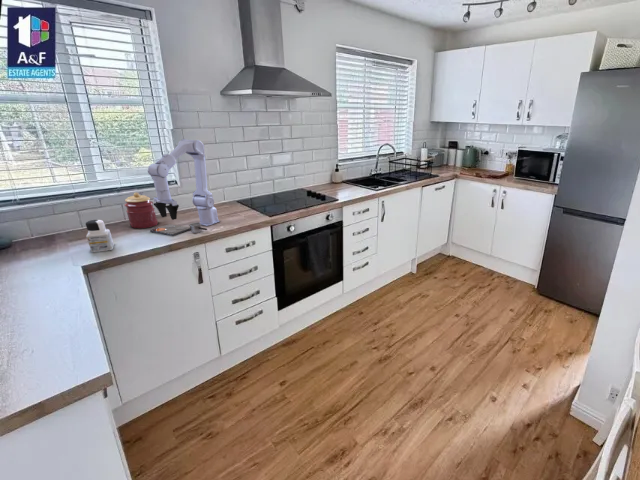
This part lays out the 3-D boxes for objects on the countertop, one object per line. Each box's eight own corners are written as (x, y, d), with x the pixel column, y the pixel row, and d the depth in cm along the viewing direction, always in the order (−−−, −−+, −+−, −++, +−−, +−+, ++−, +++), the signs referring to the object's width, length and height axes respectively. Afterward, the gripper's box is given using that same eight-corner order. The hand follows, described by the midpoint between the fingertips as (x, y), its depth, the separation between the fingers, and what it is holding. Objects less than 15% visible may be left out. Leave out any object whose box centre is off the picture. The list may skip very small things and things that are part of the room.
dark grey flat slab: (169, 225, 201) (169, 223, 200) (191, 229, 196) (191, 227, 196) (150, 232, 191) (150, 229, 190) (172, 236, 186) (172, 234, 186)
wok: (196, 229, 196) (195, 222, 194) (211, 232, 193) (210, 224, 192) (187, 232, 192) (186, 225, 190) (203, 235, 189) (201, 227, 187)
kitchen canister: (154, 228, 196) (145, 195, 188) (126, 229, 193) (116, 195, 185) (161, 221, 207) (153, 189, 199) (135, 222, 204) (126, 190, 196)
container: (91, 252, 164) (81, 224, 158) (94, 246, 170) (84, 219, 164) (112, 250, 167) (103, 222, 161) (114, 244, 173) (105, 217, 167)
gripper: (144, 189, 175) (152, 217, 181) (164, 193, 169) (171, 222, 175) (159, 187, 180) (165, 214, 187) (178, 191, 175) (184, 218, 181)
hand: (169, 218), depth 181 cm, fingers open, 7 cm apart
